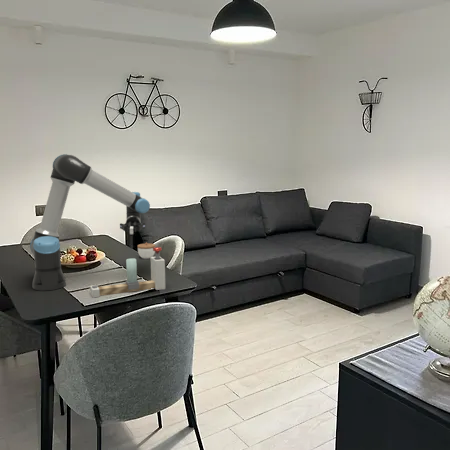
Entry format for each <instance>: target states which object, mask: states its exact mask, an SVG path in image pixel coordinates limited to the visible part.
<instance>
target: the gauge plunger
mask: <svg viewBox="0 0 450 450" xmlns="http://www.w3.org/2000/svg"><path fill="white" fill-rule="evenodd" d="M153 251H155V253H154V257H155V260H159V259H160V257H161V255H160V253H161V251H162V246H155V247H154V248H153Z"/></svg>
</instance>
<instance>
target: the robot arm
mask: <svg viewBox="0 0 450 450" xmlns="http://www.w3.org/2000/svg"><path fill="white" fill-rule="evenodd" d="M50 180H51V181H52V183H51V187H50V190H49V193H48V197H47V201H46V204H45V208H44V212H43V214H42V218H41V222H40V226H39V228H37V229H35V232H34V236H33V238H32V239H31V241H30V245H29V247H30V248H29V249H30V252H31V254H32V255H33V259H34V270H35V273H34V275H33V279H32V285H31V286H32V289H33V290H36V291H43V292H44V291H55V290H59V289H61V288H65V287H66V285H67V282H66V277H65V276H64V273H63V270H62V262H61V261H62V259H61V242H60V240H59V239H60V235H59V232H58V230H59V227H60V224H61V221H62V218H63V214H64V209H65V206H66V203H67V199H68V195H69V191H70V189H71V187H72V186H75V182H76V183H79V184H81V185H83V184H85V185H87V186H89V187H90V188H92V189H94V190H96V191H98V192H100V193H102V194H103V195H104V196H108V197H110V198H111V199H113V200H115V201H116V202H118V203H120V204H122V205H124V206H126V207H125V208H126V221H125V223H119V229H120V230H123V231H124V232H127V233H128V234H129V235H134V232H135V233H136V232H140V231H142V230H144V229H146V223H145V222H144V223H142V217H141V214H145V213H147V212H149V210H150V207H151V204H150V202H149V201H148V200H147V199H146V198H143V197H142V196H141V193H140V192H138V191H130V190H129V189H127V188H126V187H123V186H122V185H120V184H118V183H116V182H114V181H113V180H111V179H109V178H107V177H106V176H104V175H102V174H100V173H99V172H97V171H95V170H93V169H92V166H90V165H88V164H87V163H85V162H84V161H83V160H81V159H80V158H78V157H77V156H75V155H72V154H67V153H66V154H60V155H58V156H57V157H55V158H54V160H53V161H52V170H51V175H50Z"/></svg>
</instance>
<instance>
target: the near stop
mask: <svg viewBox="0 0 450 450" xmlns="http://www.w3.org/2000/svg"><path fill="white" fill-rule="evenodd" d="M98 287H99V286H98V284H96V285H95V284H94V285H90V286H89V290H90V292H89V293H90V295H91V296H92V298H93V299H94V298H100V292H99V288H98Z"/></svg>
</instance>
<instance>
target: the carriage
mask: <svg viewBox="0 0 450 450" xmlns="http://www.w3.org/2000/svg"><path fill="white" fill-rule="evenodd" d="M125 263H126V265H125V267H126V280H125V282H124V284H127V285H128V290H131V289H139V282H140V281H138V271H137V270H138V267H137V258H134V257H133V258H127V259H126V260H125Z"/></svg>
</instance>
